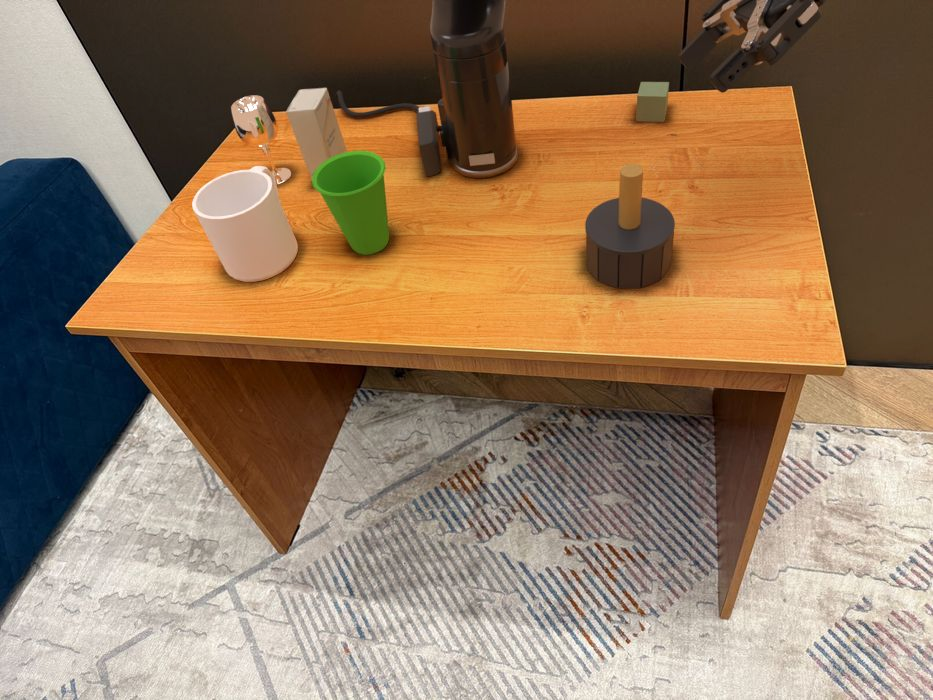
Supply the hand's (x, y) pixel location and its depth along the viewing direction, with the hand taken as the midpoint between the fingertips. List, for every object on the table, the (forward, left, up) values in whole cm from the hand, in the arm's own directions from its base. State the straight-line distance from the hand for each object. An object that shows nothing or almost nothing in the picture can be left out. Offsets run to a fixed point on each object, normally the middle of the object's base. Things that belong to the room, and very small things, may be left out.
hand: (698, 74), depth 72 cm
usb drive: (-40, -3, -16) cm, 43 cm away
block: (-14, +20, -18) cm, 30 cm away
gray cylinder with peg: (-2, -10, -18) cm, 21 cm away
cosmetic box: (-49, -13, -19) cm, 54 cm away
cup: (-33, -22, -19) cm, 44 cm away
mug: (-45, -30, -19) cm, 57 cm away
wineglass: (-57, -17, -19) cm, 62 cm away
